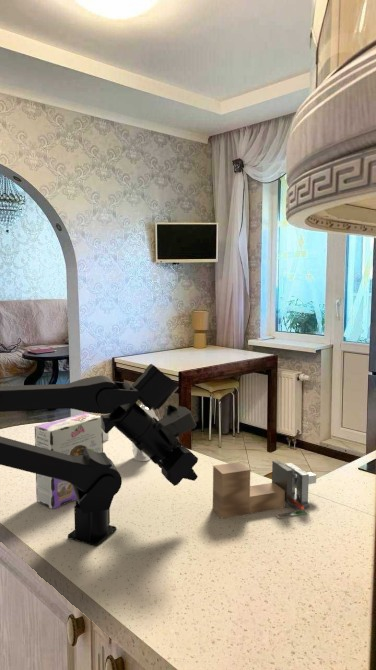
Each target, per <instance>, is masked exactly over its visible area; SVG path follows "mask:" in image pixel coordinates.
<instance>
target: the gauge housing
mask: <svg viewBox="0 0 376 670" xmlns="http://www.w3.org/2000/svg"><path fill="white" fill-rule="evenodd" d="M284 465H286V466H287V467H289V468H290V469H292V470H293V475H294V474H296V475H297V486H295V487H292V499H295V500H296V501H298V502H299V503H300V504H302V505H303V506H304V509H303V510H301V509H300V508H298V507H297V506H296V505H295V504H293V503H292V502H291V503H288V504H289V505H290V506H291V507H292V508H295V510H297V511H291V512H285V513H281V514H280V513H279V514H276V515H275V517H276V518H277V519H278V520H279V519H284V518H291V517H297V516H302V515H306V514H308V512H307V511H306V510H305V509H308V508H310V503H309V485H310V484H309V474H308V472H306V471H304V470H302V469H301V468H300V467H298V466H297V465H295V464H294V463H292V462H287V463H284Z"/></svg>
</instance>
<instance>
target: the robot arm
mask: <svg viewBox="0 0 376 670" xmlns="http://www.w3.org/2000/svg"><path fill="white" fill-rule="evenodd" d="M178 389H179V386H178V385H177V383H175V382H174V381H173V379H171V377H170V376H168V375H166V374H165V373H163V372H162V371H161V370H160V369H159V368H157V366H155V365H154V364H153V363H150V364H149V365H147V367H146V368H145V369H144V371H143V373H142V374H141V375H140V376H139V377H138V378H137V379H136V380H135V381H134V382H133V383H132V384H131V383H129V382H124V381H121V382H120V381H113V380H112V379H111V378H110V377H108V376H106V375H95V376H89V377H85V378H81V379H77V380H76V381H75V380H74V381H72V382H67V383H57V384H56V383H55V384H27V385H26V384H25V385H23V384H22V385H1V386H0V413H4V412H22V411H39V410H41V411H43V410H59V409H70V410H75V411H81V412H84V413H90V414H97V415H98V414H100V416H101V420H102V422H101V428H102V429H103V431H104V432H105V433H108V432H109V433H110V431H112V429H113V428H116V429H117V431H119V432H120V433H121V434H122V435H124V436H125V438H127V439H128V440H129V441H130V442H131V443H132V442H133V443H134V445H135V446H136V447H137V448H138V449H139V450H140V451H141V450H142V451H143V452H144V453H145V454H146V455H147V456H148V457H149V458H150V460H151V462H153V464H155V465H157V466H158V467H159V468H160V469H161V471H160V473H161V474H162V476H163V477H164V478H165V479H166V480H167V481H168V482H169V483H171V485H173V486H174V487H175V486H178V485H179V484H180V482H181V481H182V480H183V479H185V480H189V481H194V482H195V481H196V480H197V479H198V478H199V476H198V475H197V473H196V472H195V470H194V469H193V468H194V466H196V464H197V463H198V461H199V458H198V457H197V456H196V455H195V454H194V453H193V452H192V451H191V450H190V449H189V448H187V446H185V445H182V443H181V442H180V440H179V439H178V438H177V437H180V436H181V435H183V434H185V433H187V432H188V431H190V430H193V429H195V428H196V427H197V423H196V421H195V419H194V416H193V414H192V411H191V410H190V409H189V408H187V407H185V406H181V405H179V406H178V408H177V407H176V406H175V405H173V404H172V403H169V404H167V405H166V406H164V407H163V405H165V403H166V402H167V401H168V400H169V399H170V398H171V396H173V395H174V393H175V392H176V391H177V390H178ZM138 401H139V402H140V404H141V403H143V404H144V405H145V406H146V407H147V408H148V409H149V410H151V409H153V411H156V410H160V409H161V407H163V409H164V410H163V415H162V418H159V421H158V420H157V419H155V418H154V417H153V418H152V417H151V416H150V415H149V414H148V413H147V412H146V411H144V410H143V409H142V408H141V407H140V406H141V405H139V404H138V403H137V402H138ZM114 463H115V462H113V461H112V459H111V458H109V457H108V456H107V454H106V452H105V451H103V452H102V453H98V452H94V451H92V450H90V449H87V448H85V449H84V454H83V455H78V456H71V455H67V454H63V453H60V452H56V451H52V450H49V449H45V448H41V447H38V446H35V444H30V443H27V442H22V441H18V440H15V439H11V438H8V437H5V436H0V466H5V467H9V468H12V469H16V470H19V471H20V470H21V471H25V472H29V473H33V474H35V475H36V474H39V475H43V476H47V477H51V478H55V479H59V480H63V481H67V482H69V483H71V484H72V486H73V489H74V492H75V495H76V497H77V499H76V502H75V505H74V507H73V510H74V529H73V530H72V531H71V532H69V533H68V534H67V539H69V540H70V539H71V540H74V541H77V542H81V543H84V544H88V545H92V546H99V545H100V544H101V543H103V542H104V541H105V540H106V539H108V538H109V537H110V536H111V535H112V534H114V533H115V531H117V526H114V525H111V524H110V523H111V521H110V519H111V518H110V511H111V505H112V502H113V500H114V497H115V495H116V494H118V492H119V491H120V489H121V488H122V487H121V486H122V484H123V481H122V475H121V474H120V471H119V470H118V469H117V466H116V465H115V464H114Z"/></svg>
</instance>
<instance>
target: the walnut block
mask: <svg viewBox="0 0 376 670" xmlns="http://www.w3.org/2000/svg"><path fill="white" fill-rule="evenodd" d="M212 467H213V468H212V510H214V512H215V513H216V514H217V515H218V516H219V517H220V519H225V518H226V517H227V518H233V517H238V516H243V515H250V514H255V513H260V512H266V511H272V510H278V509H283V508H285V504H286V502H285V491H284V490H283V489H282V488H280V487H279V486H278V485H276V484H275V483H272V482H267V483H261V484H255V485H251V469H250V468H249V467H247V466H246V465H245V464H243V463H242V462H241V461H238V462H237V461H236V462H231V463H225V464H224V463H223V464H216V465H212ZM227 518H226V519H227Z"/></svg>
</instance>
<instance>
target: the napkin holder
mask: <svg viewBox="0 0 376 670" xmlns="http://www.w3.org/2000/svg"><path fill="white" fill-rule="evenodd" d="M109 439H110V431H109V432H108V433H105V432H104V431H103V442H105V441H107V442H108V441H110V440H109Z"/></svg>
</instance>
